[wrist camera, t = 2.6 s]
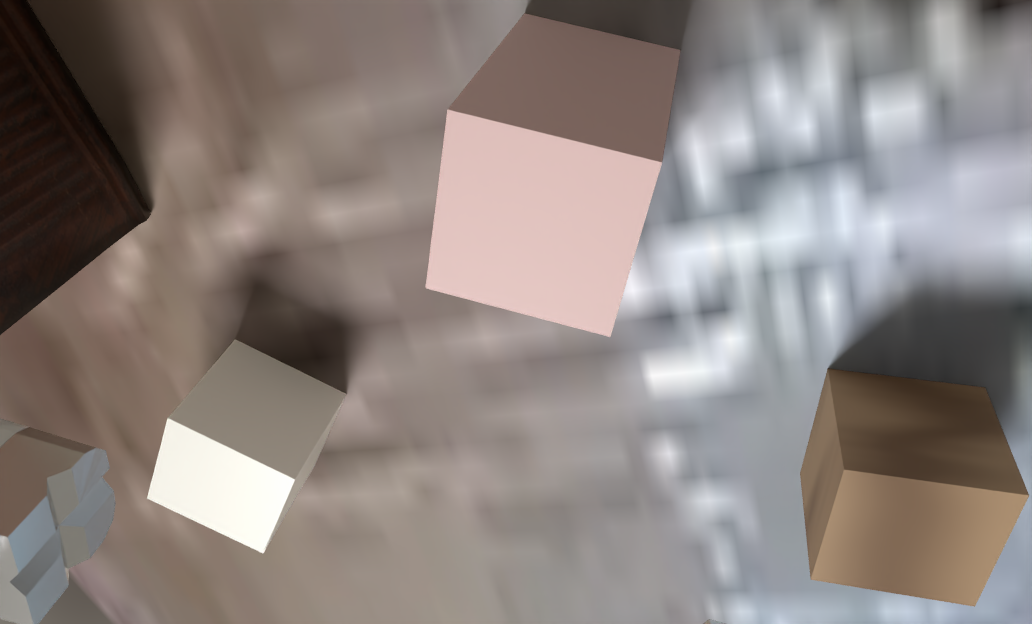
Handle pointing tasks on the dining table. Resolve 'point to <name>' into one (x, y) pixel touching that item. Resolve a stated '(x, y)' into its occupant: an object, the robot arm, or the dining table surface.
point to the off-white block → (243, 445)
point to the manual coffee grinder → (51, 171)
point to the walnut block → (908, 487)
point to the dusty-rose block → (552, 172)
